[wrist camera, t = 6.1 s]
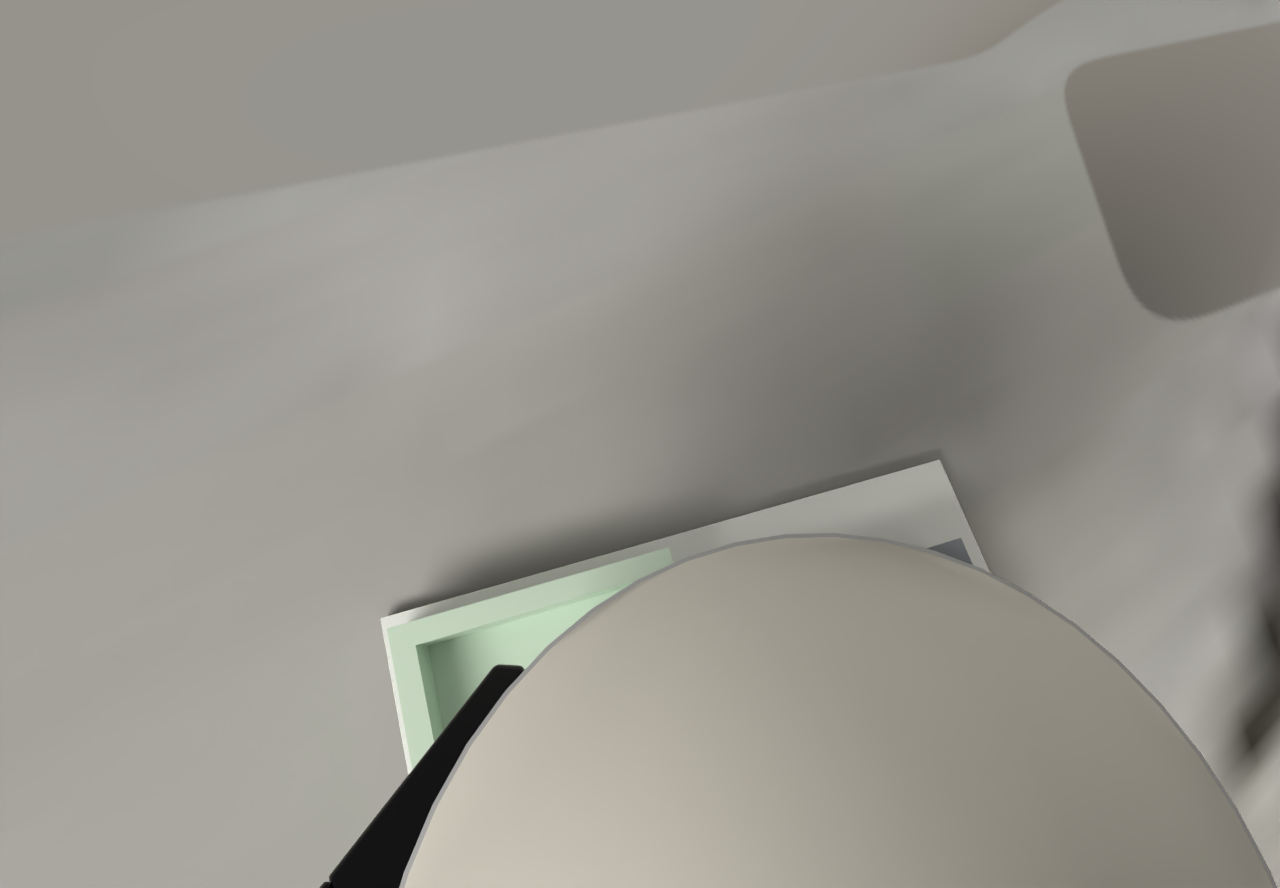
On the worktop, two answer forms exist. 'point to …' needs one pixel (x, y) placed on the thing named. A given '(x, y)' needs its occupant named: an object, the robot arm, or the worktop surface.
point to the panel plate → (877, 507)
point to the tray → (492, 641)
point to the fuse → (830, 742)
